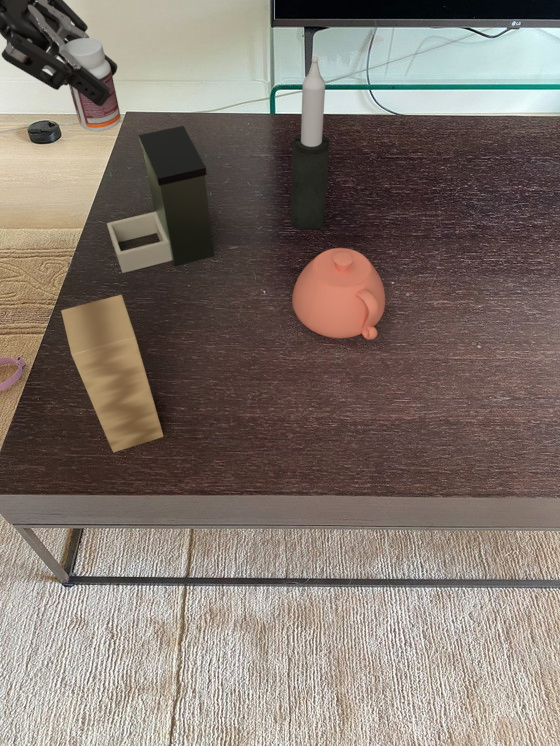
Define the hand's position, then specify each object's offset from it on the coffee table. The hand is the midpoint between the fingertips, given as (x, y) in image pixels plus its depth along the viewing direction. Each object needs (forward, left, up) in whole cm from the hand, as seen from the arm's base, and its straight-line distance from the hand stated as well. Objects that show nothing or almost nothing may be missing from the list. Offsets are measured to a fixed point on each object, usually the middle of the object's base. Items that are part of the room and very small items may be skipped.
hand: (109, 85), depth 68 cm
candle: (+26, +2, -28) cm, 38 cm away
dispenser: (+6, +4, -27) cm, 28 cm away
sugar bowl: (+22, -19, -28) cm, 40 cm away
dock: (0, +4, -27) cm, 28 cm away
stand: (-8, -25, -27) cm, 38 cm away
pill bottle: (-2, +1, -4) cm, 5 cm away
